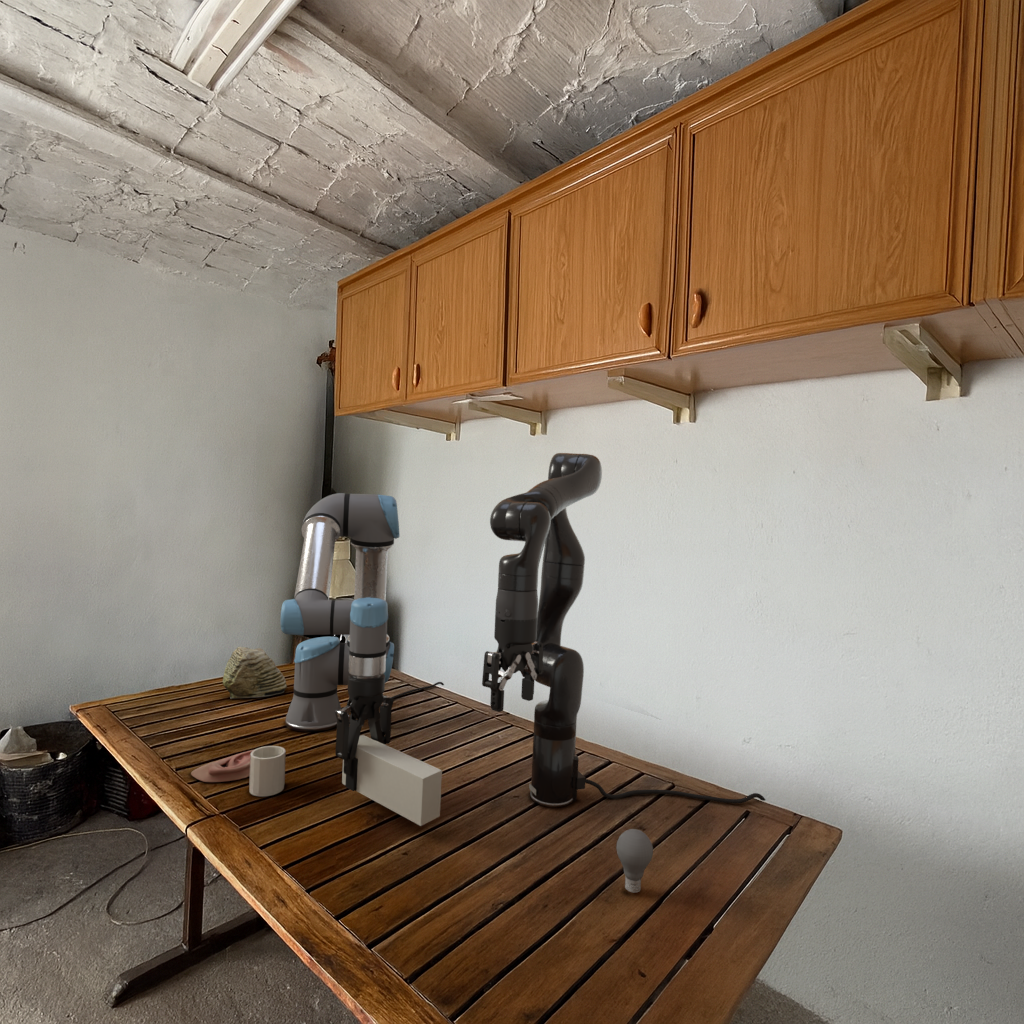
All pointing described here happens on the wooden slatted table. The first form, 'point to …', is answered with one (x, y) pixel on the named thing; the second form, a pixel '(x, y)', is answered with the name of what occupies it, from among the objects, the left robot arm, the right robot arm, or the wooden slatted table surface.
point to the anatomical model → (225, 769)
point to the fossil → (252, 674)
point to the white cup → (267, 770)
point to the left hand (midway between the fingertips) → (362, 783)
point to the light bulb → (634, 857)
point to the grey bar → (397, 781)
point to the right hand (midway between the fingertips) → (512, 705)
